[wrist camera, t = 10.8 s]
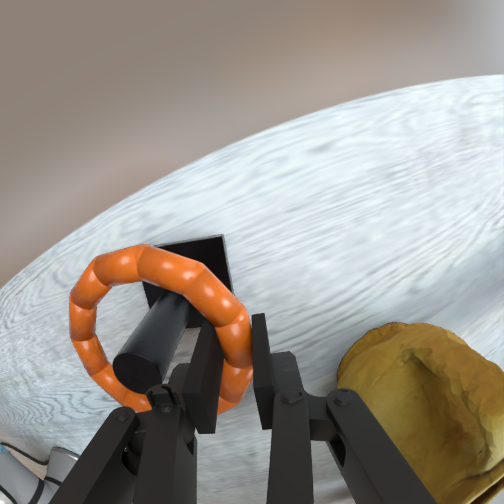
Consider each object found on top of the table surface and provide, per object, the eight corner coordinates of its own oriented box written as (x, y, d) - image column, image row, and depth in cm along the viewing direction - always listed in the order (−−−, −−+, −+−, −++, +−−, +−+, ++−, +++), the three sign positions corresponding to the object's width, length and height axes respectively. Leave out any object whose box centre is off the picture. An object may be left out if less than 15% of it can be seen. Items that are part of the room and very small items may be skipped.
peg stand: (159, 326, 29) (105, 422, 14) (138, 248, 27) (48, 306, 12) (238, 317, 29) (232, 427, 14) (223, 233, 27) (194, 291, 12)
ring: (121, 408, 19) (112, 423, 17) (57, 265, 16) (40, 273, 14) (273, 402, 18) (273, 422, 16) (228, 222, 15) (223, 227, 13)
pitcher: (299, 411, 32) (350, 577, 7) (352, 280, 29) (538, 430, 4) (397, 410, 33) (473, 520, 9) (450, 303, 30) (583, 385, 6)
